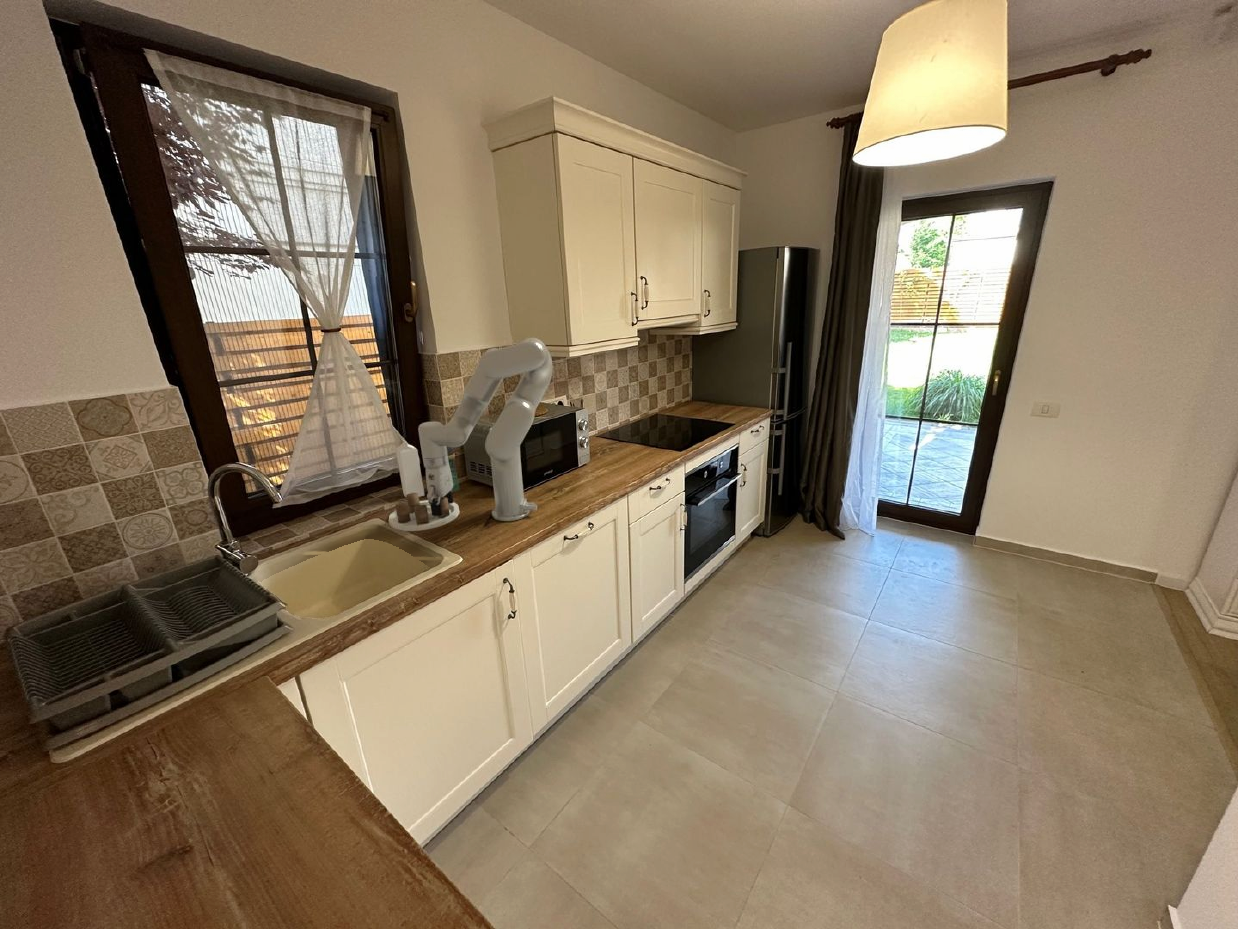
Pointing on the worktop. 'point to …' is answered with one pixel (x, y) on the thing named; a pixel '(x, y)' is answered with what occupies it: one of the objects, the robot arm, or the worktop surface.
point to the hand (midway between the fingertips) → (443, 509)
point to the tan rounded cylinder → (444, 507)
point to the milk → (409, 469)
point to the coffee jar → (452, 468)
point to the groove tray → (433, 520)
